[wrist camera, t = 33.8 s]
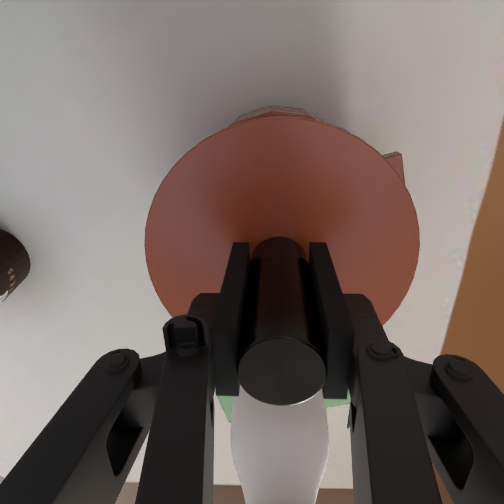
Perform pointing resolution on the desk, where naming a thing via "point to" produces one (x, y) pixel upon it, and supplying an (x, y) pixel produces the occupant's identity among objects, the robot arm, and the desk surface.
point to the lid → (282, 239)
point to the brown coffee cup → (11, 264)
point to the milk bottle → (279, 449)
